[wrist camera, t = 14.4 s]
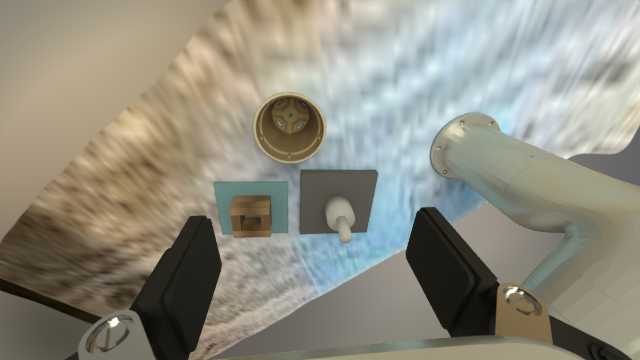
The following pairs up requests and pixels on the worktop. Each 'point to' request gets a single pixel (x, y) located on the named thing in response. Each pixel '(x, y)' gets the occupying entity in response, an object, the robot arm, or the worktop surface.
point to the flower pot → (289, 128)
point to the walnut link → (251, 224)
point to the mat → (231, 189)
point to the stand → (336, 201)
